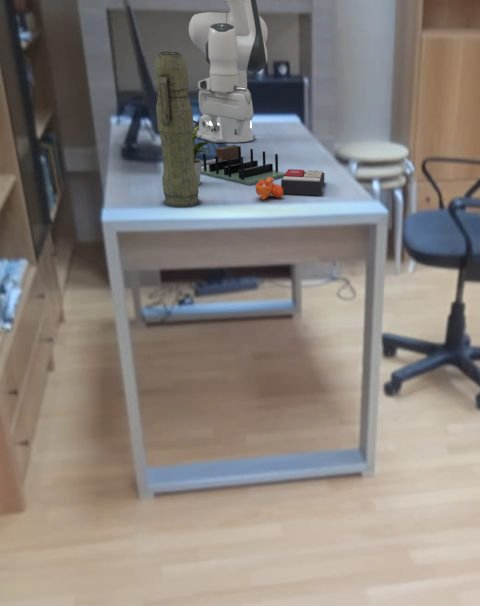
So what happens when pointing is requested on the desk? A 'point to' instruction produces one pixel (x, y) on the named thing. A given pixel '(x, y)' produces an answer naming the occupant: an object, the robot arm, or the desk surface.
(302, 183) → the calculator
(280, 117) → the desk surface
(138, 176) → the desk surface
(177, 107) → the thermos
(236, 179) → the rack
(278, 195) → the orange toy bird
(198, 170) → the house plant
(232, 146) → the knife
